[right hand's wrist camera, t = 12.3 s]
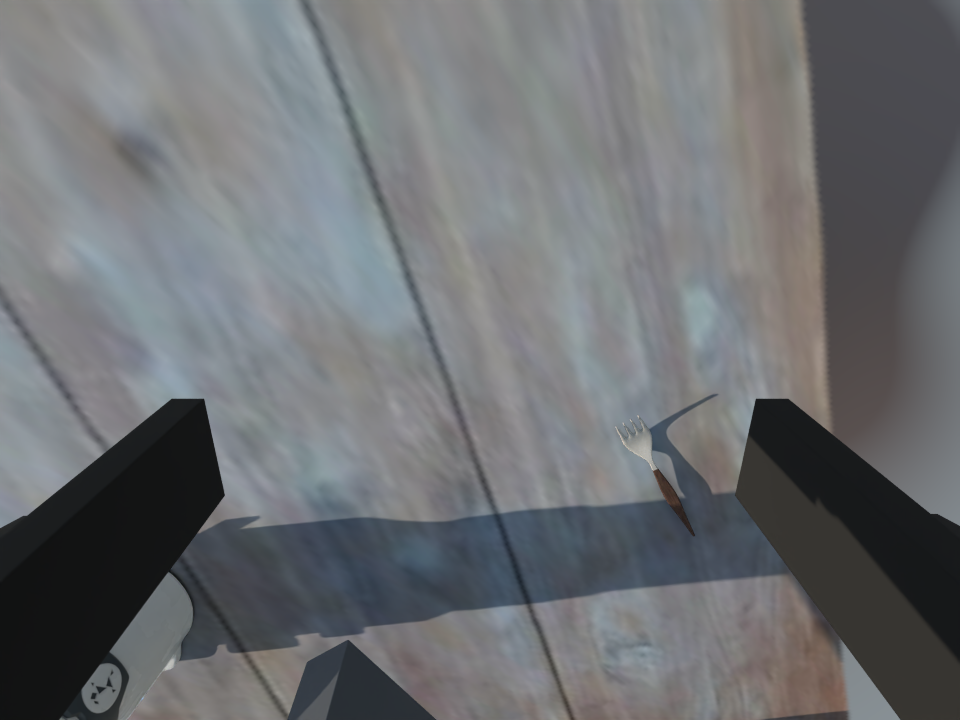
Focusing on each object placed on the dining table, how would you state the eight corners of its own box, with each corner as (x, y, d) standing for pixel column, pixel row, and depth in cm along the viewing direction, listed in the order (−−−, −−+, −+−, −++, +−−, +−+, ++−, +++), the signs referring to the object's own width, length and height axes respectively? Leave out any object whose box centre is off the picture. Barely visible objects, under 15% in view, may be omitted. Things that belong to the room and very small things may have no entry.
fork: (679, 538, 53) (687, 552, 51) (608, 417, 48) (613, 428, 46) (704, 527, 52) (712, 540, 50) (634, 404, 47) (640, 414, 45)
